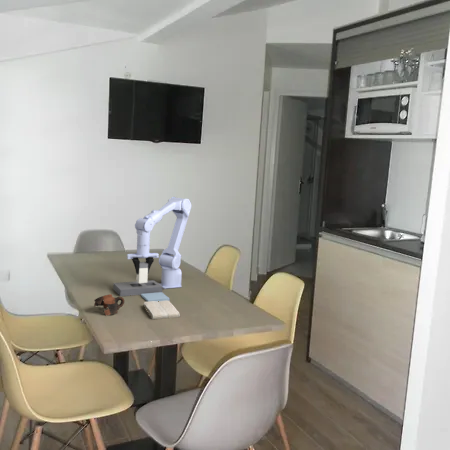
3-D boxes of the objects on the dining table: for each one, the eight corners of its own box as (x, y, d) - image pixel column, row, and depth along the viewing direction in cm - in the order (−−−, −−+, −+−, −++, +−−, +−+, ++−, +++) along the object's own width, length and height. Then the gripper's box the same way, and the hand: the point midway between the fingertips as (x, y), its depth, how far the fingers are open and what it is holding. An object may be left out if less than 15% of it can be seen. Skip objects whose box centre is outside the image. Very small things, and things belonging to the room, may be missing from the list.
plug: (144, 280, 231) (145, 261, 229) (147, 282, 227) (148, 263, 226) (136, 281, 229) (137, 262, 227) (138, 283, 225) (139, 264, 224)
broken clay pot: (98, 318, 194) (92, 298, 195) (97, 321, 202) (91, 302, 204) (128, 308, 198) (122, 289, 200) (126, 311, 207) (120, 293, 208)
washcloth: (168, 305, 215) (168, 298, 215) (181, 318, 199) (181, 311, 199) (141, 307, 211) (141, 300, 210) (152, 321, 195) (152, 313, 194)
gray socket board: (153, 286, 242) (153, 280, 241) (162, 292, 231) (162, 286, 231) (113, 289, 232) (113, 282, 232) (120, 296, 222) (120, 289, 222)
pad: (161, 294, 229) (161, 292, 229) (169, 300, 220) (169, 298, 220) (141, 296, 224) (141, 293, 224) (148, 302, 216) (148, 300, 216)
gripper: (130, 246, 218) (129, 276, 220) (161, 245, 225) (160, 274, 227) (125, 243, 225) (124, 272, 227) (156, 242, 231) (155, 271, 233)
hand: (142, 273), depth 227 cm, fingers closed on plug, 4 cm apart
